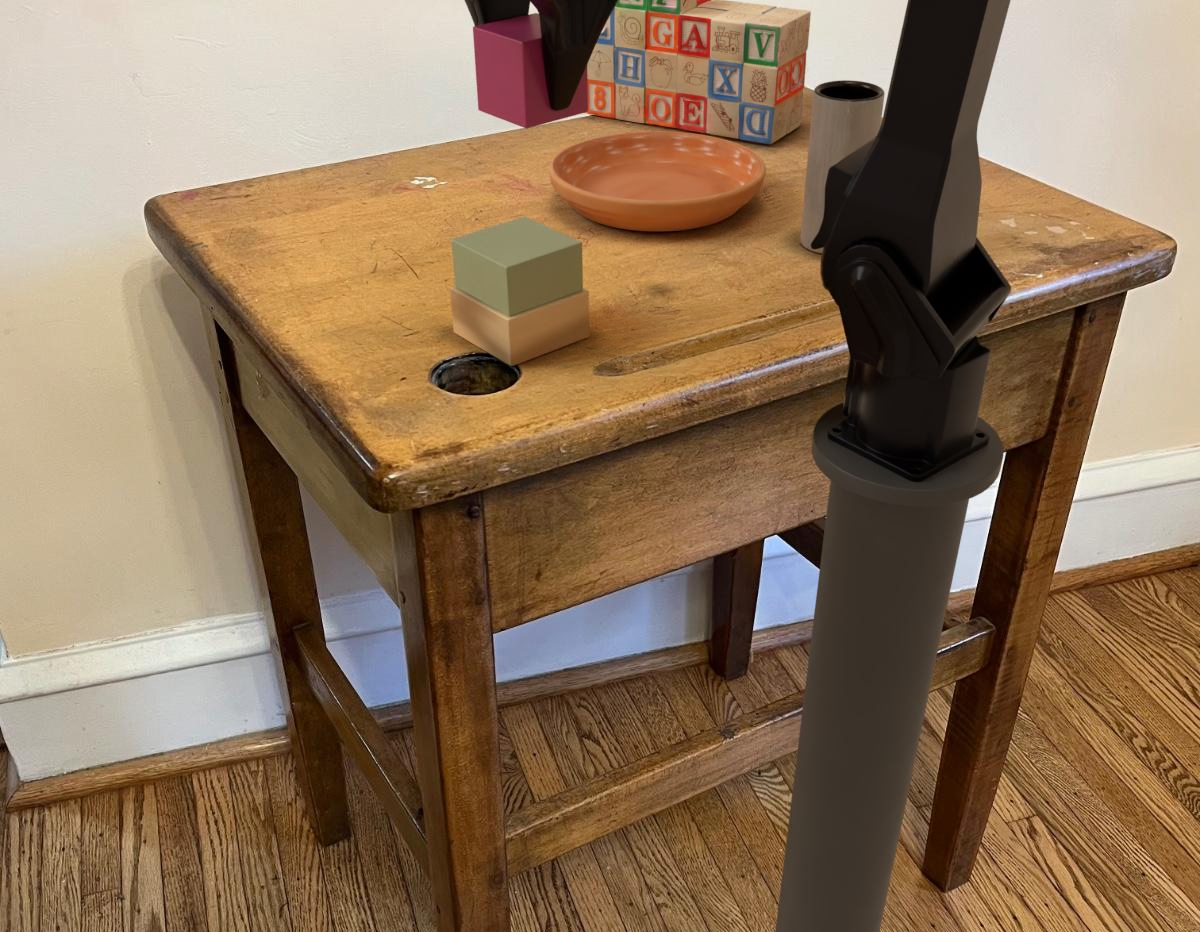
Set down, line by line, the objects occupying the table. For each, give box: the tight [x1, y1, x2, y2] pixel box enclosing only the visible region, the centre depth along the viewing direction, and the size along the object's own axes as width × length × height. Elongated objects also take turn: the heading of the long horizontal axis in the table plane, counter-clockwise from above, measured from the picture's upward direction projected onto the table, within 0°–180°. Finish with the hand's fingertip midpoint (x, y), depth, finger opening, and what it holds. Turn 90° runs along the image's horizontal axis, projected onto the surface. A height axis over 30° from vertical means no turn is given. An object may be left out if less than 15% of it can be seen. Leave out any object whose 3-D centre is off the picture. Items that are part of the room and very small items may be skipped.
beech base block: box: [449, 285, 591, 367], centre depth 75 cm, size 6×6×3 cm
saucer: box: [548, 130, 767, 232], centre depth 92 cm, size 16×16×3 cm
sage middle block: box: [450, 215, 584, 316], centre depth 73 cm, size 6×6×3 cm
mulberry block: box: [472, 12, 588, 129], centre depth 69 cm, size 4×4×4 cm
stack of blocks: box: [584, 0, 812, 145], centre depth 105 cm, size 21×6×12 cm, turn 58°
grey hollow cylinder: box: [800, 79, 885, 255], centre depth 83 cm, size 4×4×10 cm
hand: (532, 99), depth 70 cm, fingers closed on mulberry block, 4 cm apart
